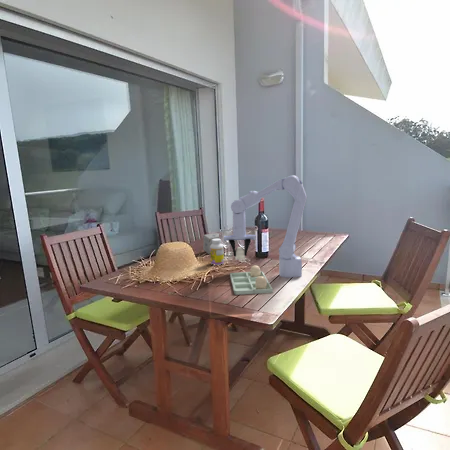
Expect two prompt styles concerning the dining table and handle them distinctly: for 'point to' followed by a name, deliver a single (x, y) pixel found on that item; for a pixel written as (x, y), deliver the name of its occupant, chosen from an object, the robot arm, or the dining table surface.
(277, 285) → the dining table surface
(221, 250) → the supplement bottle
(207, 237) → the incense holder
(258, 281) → the tan egg
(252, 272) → the tan egg
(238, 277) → the egg tray
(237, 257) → the cream egg
